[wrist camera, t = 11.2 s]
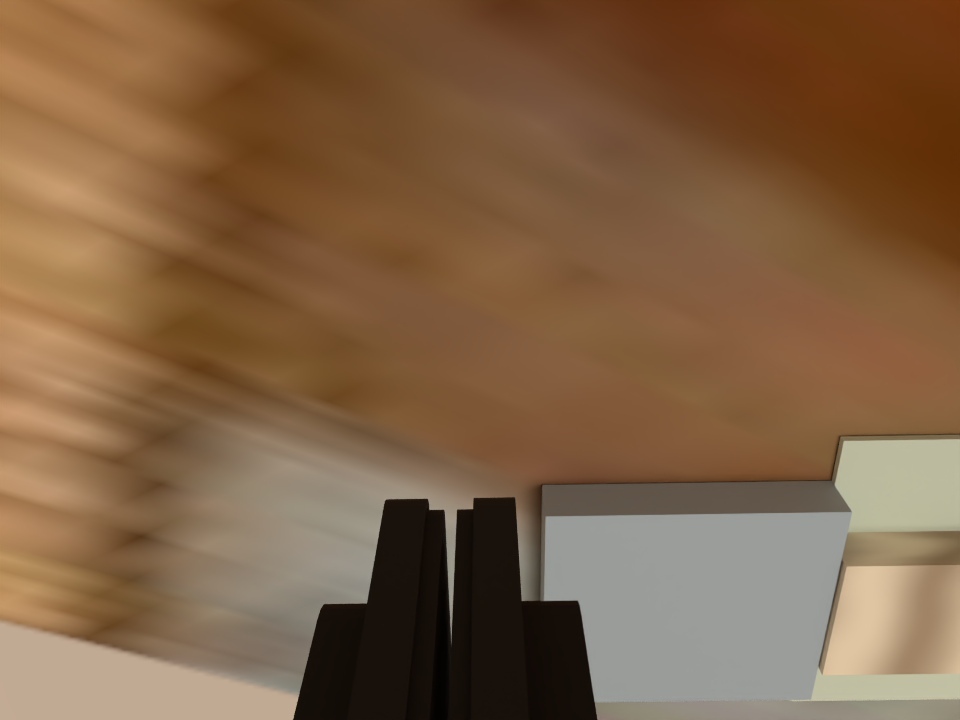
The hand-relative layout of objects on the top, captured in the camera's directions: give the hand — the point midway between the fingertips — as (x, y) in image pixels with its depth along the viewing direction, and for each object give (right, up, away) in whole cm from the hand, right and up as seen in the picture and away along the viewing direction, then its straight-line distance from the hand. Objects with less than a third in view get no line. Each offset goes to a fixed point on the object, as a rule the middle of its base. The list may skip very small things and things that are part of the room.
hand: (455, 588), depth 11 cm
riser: (+10, -8, +32) cm, 35 cm away
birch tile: (+23, -9, +32) cm, 40 cm away
